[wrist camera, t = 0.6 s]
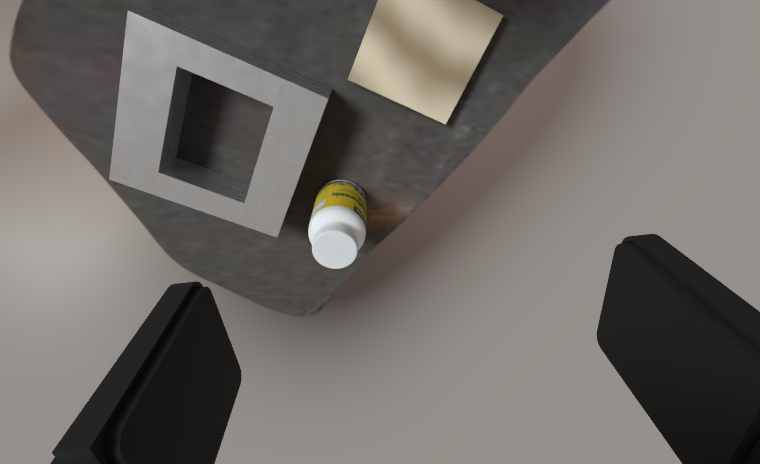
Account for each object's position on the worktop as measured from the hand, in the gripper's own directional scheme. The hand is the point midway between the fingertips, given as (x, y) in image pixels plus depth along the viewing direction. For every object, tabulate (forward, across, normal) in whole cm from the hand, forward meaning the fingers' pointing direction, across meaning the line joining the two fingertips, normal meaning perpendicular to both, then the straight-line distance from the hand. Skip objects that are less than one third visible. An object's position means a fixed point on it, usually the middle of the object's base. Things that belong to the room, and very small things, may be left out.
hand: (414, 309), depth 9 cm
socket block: (+32, +15, +2) cm, 35 cm away
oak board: (+31, -4, -3) cm, 32 cm away
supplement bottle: (+32, +5, +11) cm, 35 cm away
